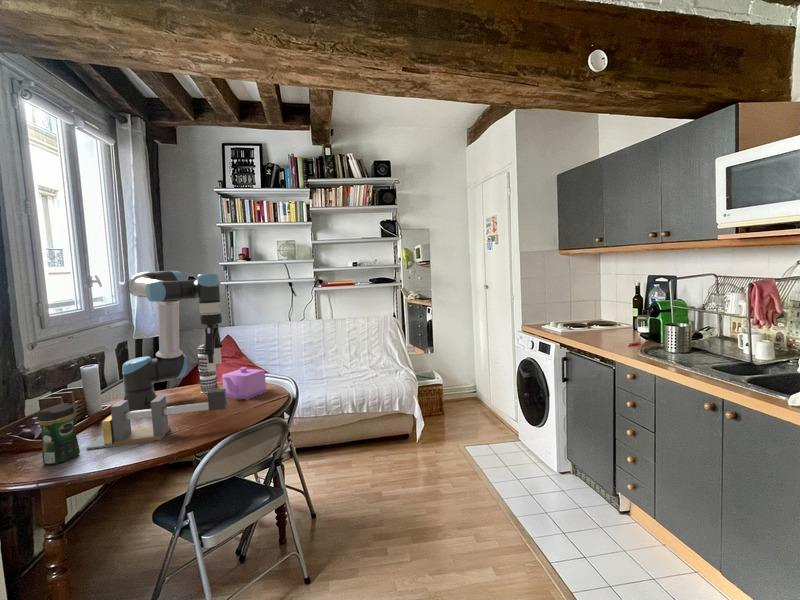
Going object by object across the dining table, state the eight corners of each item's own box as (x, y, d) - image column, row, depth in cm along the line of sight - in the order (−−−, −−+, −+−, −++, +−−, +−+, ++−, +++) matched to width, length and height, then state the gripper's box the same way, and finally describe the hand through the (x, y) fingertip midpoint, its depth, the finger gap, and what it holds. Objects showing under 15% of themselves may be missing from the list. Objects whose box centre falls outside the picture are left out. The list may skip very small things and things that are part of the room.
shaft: (125, 418, 160) (123, 400, 160) (226, 405, 169) (225, 388, 169) (121, 421, 157) (119, 403, 156) (225, 408, 165) (223, 391, 165)
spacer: (115, 434, 163) (113, 412, 162) (123, 433, 163) (120, 412, 163) (104, 444, 153) (101, 421, 152) (112, 443, 153) (109, 420, 153)
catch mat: (101, 437, 162) (101, 435, 162) (125, 434, 164) (125, 432, 164) (86, 450, 151) (86, 448, 151) (112, 446, 153) (112, 444, 153)
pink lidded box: (212, 402, 203) (210, 373, 202) (250, 388, 225) (248, 362, 224) (236, 404, 196) (234, 375, 196) (272, 389, 219) (270, 363, 218)
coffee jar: (66, 452, 149) (61, 401, 148) (84, 453, 147) (78, 401, 146) (37, 465, 140) (31, 410, 139) (55, 466, 138) (49, 410, 137)
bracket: (124, 434, 164) (121, 399, 163) (170, 428, 168) (167, 394, 167) (112, 446, 153) (108, 408, 152) (161, 439, 157) (157, 402, 156)
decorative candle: (207, 394, 216) (202, 346, 215) (196, 393, 221) (191, 345, 219) (222, 390, 224) (218, 343, 223) (211, 388, 229) (207, 342, 227)
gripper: (215, 315, 153) (220, 373, 155) (225, 310, 177) (229, 360, 179) (193, 317, 151) (198, 375, 153) (206, 311, 175) (210, 362, 177)
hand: (215, 367), depth 166 cm, fingers open, 13 cm apart
